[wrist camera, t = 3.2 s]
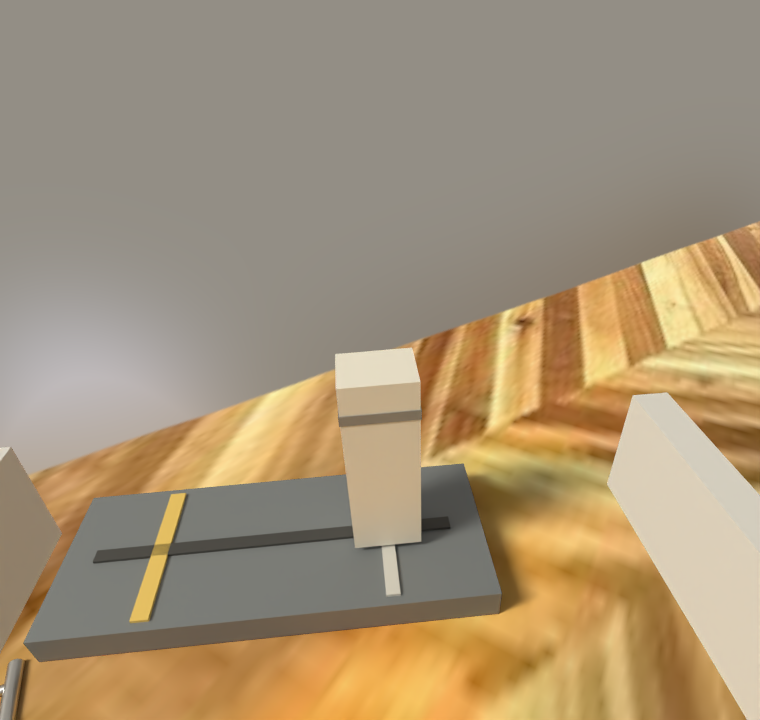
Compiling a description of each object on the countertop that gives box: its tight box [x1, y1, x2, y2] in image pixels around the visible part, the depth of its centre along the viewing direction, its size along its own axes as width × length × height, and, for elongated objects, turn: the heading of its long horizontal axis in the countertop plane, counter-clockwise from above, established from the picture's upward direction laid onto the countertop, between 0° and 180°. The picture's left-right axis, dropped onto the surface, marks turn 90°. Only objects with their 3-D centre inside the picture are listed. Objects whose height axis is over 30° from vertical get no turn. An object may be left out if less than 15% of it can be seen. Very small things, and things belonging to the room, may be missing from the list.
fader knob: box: [335, 348, 422, 548], centre depth 29 cm, size 4×3×12 cm
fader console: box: [23, 464, 502, 662], centre depth 33 cm, size 26×10×2 cm, turn 95°
